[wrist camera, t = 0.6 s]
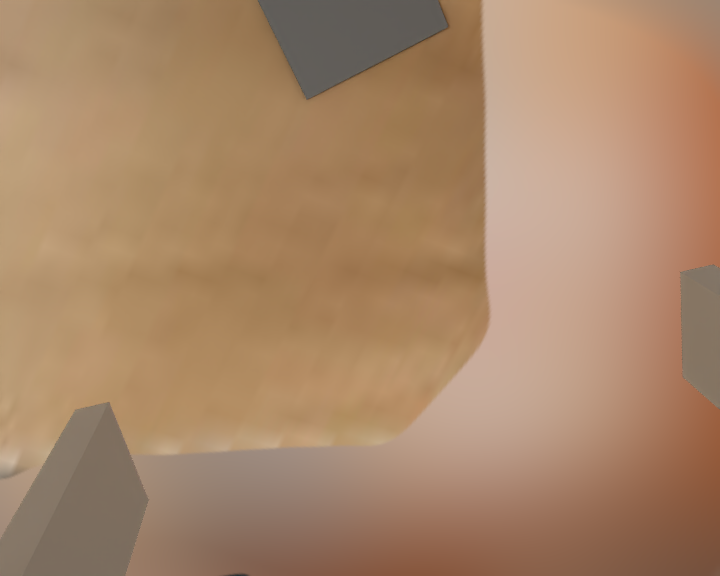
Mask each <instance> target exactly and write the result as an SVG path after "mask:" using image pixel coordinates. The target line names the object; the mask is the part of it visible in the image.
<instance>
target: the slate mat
mask: <svg viewBox="0 0 720 576" xmlns="http://www.w3.org/2000/svg"><path fill="white" fill-rule="evenodd" d="M258 2H259V4H260V6H261V8H262V10H263V12H264V14H265V16H266V18H267V20H268V22H269V24H270V26H271V28H272V30H273V32H274V34H275V36H276V38H277V40H278V42H279V44H280V46H281V48H282V50H283V52H284V54H285V56H286V58H287V60H288V62H289V64H290V66H291V68H292V70H293V72H294V75H295V77H296V79H297V81H298V83H299V85H300V87H301V89H302V91H303V93H304V95H305V97H306V99H309V98H311V97H313V96H315V95H317V94H319V93H321V92H323V91H325V90H327V89H329V88H331V87H332V86H334V85H336V84H338V83H340V82H342V81H344V80H346V79H348V78H350V77H352V76H354V75H356V74H358V73H360V72H362V71H364V70H366V69H368V68H369V67H371V66H373V65H375V64H377V63H379V62H381V61H383V60H385V59H387V58H389V57H391V56H393V55H395V54H397V53H399V52H401V51H403V50H405V49H407V48H408V47H410V46H412V45H414V44H416V43H418V42H420V41H422V40H424V39H426V38H428V37H430V36H432V35H434V34H436V33H438V32H440V31H442V30H444V29H445V28H447V27H448V24H447V22H446V19H445V17H444V14H443V12H442V9H441V7H440V4H439V2H438V0H258Z"/></svg>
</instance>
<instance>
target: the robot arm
mask: <svg viewBox="0 0 720 576" xmlns="http://www.w3.org/2000/svg"><path fill="white" fill-rule="evenodd" d="M680 275H681V321H682V364H683V378H684V379H686V380H687V381H688V382H689V383H690V384H691V385H692V386H694V387H695V388H696V389H697V390H698V391H699V392H700V393H702V394H703V395H704V396H705V397H706V398H707V399H708V400H710V401H711V402H712V403H713V404H714V405H715V406H716V407H717V408H719V409H720V268H719V267H717V266H715V265H709V266H705V267H700V268H696V269H692V270H687V271H683V272H680ZM147 503H148V497H147V495H146V492H145V490H144V487H143V485H142V482H141V480H140V477H139V475H138V472H137V470H136V467H135V465H134V462H133V460H132V457H131V455H130V452H129V450H128V447H127V445H126V443H125V440H124V438H123V435H122V433H121V430H120V428H119V425H118V423H117V420H116V418H115V415H114V413H113V410H112V408H111V405H110V403H109V402H107V403H103V404H99V405H94V406H90V407H85V408H81V409H77V410H75V411H74V413H73V415H72V416H71V418H70V420H69V422H68V423H67V425H66V427H65V429H64V430H63V432H62V434H61V435H60V437H59V439H58V441H57V442H56V444H55V446H54V448H53V449H52V451H51V453H50V454H49V456H48V458H47V460H46V461H45V463H44V465H43V466H42V468H41V470H40V472H39V474H38V475H37V477H36V479H35V481H34V482H33V484H32V486H31V487H30V489H29V491H28V492H27V494H26V496H25V498H24V499H23V501H22V503H21V504H20V506H19V508H18V510H17V511H16V513H15V515H14V516H13V518H12V520H11V522H10V523H9V525H8V527H7V529H6V531H5V532H4V534H3V535H2V537H1V539H0V576H125V574H126V571H127V568H128V565H129V562H130V558H131V555H132V552H133V549H134V545H135V542H136V539H137V536H138V533H139V529H140V526H141V523H142V520H143V516H144V513H145V510H146V507H147Z"/></svg>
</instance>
